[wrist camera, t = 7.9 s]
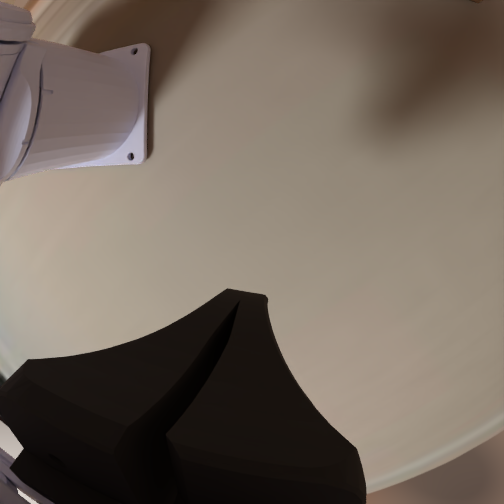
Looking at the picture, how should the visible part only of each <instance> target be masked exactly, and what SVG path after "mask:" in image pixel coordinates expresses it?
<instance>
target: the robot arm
mask: <svg viewBox="0 0 504 504" xmlns="http://www.w3.org/2000/svg"><path fill="white" fill-rule="evenodd" d="M32 21H33V20H32V16H31V12H30V11H28V10H26V9H23V8H20V7H17V6H14V5H11V4H7V3H3V2H0V185H1V184H2V183H3V182H5V181H8V180H12V179H15V178H19V177H23V176H27V175H31V174H35V173H39V172H43V171H47V170H51V169H62V168H74V167H88V166H105V165H126V164H141V163H143V162H145V160H146V159H147V105H148V80H149V64H150V50H151V49H150V46H149V45H148V44H145V43H140V44H135V45H130V46H126V47H122V48H117V49H113V50H109V51H106V52H102V53H94V52H90V51H87V50H83V49H79V48H75V47H71V46H67V45H63V44H59V43H54V42H50V41H45V40H40V39H35V38H31V36H32V34H33V32H34V31H35V28H36V25H35V24H34V23H33V22H32ZM136 49H138V52H137V53H136V54H135V55H134V51H135V50H136ZM131 153H133V154H134V159H133V160H132V159H131ZM267 303H268V298H267V297H266V295H263V294H257V293H251V292H245V291H239V290H233V289H226V290H224V291H223V292H221V293H220V294H218V295H217V296H215V297H214V298H212V299H211V300H210V301H208V302H207V303H205V304H204V305H202V306H201V307H199V308H198V309H196V310H195V311H193V312H191V313H190V314H188V315H186V316H185V317H183V318H181V319H179V320H178V321H176V322H174V323H172V324H170V325H169V326H167V327H165V328H162V329H160V330H158V331H156V332H154V333H151V334H149V335H146V336H144V337H142V338H139V339H136V340H133V341H130V342H127V343H124V344H121V345H117V346H114V347H111V348H108V349H104V350H99V351H95V352H90V353H85V354H79V355H74V356H66V357H57V358H44V359H28V360H27V361H26V362H25V363H24V364H23V365H22V366H21V367H20V368H19V369H18V370H17V371H16V372H15V373H14V374H13V375H12V376H11V377H10V378H9V379H8V380H7V381H6V382H5V383H4V384H3V385H2V386H1V387H0V414H1V415H2V417H3V419H4V420H5V422H6V423H7V425H8V426H9V428H10V429H11V431H12V432H13V434H14V435H15V436H16V438H17V439H18V441H19V442H20V444H21V445H22V446H23V448H24V449H23V450H22V452H21V453H20V455H19V456H18V457H17V458H16V459H14V458H13V457H12V456H10V455H9V454H8V453H6V452H5V451H4V450H3V449H1V448H0V504H31V503H29V502H28V501H27V500H25V499H24V498H23V497H21V496H20V495H19V494H18V490H17V488H18V489H19V490H20V491H22V492H23V493H24V494H26V495H27V496H29V497H30V498H31V499H33V500H34V501H36V502H37V503H39V504H366V483H365V477H364V473H363V468H362V464H361V461H360V457H359V454H358V451H357V449H356V447H354V446H353V445H352V444H351V443H350V442H349V441H348V440H347V439H346V438H344V437H343V436H342V435H341V434H340V433H339V432H338V431H337V430H336V429H335V428H333V427H332V426H331V425H330V424H329V423H328V421H327V420H326V419H325V418H324V417H323V416H322V415H321V414H320V412H319V411H318V410H317V409H316V408H315V406H314V405H313V404H312V402H311V401H310V400H309V398H308V397H307V396H306V394H305V393H304V392H303V390H302V389H301V388H300V386H299V385H298V383H297V381H296V380H295V378H294V376H293V375H292V373H291V371H290V370H289V368H288V366H287V364H286V362H285V360H284V358H283V356H282V354H281V351H280V349H279V347H278V344H277V342H276V339H275V336H274V333H273V330H272V326H271V323H270V319H269V314H268V307H267Z"/></svg>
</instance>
